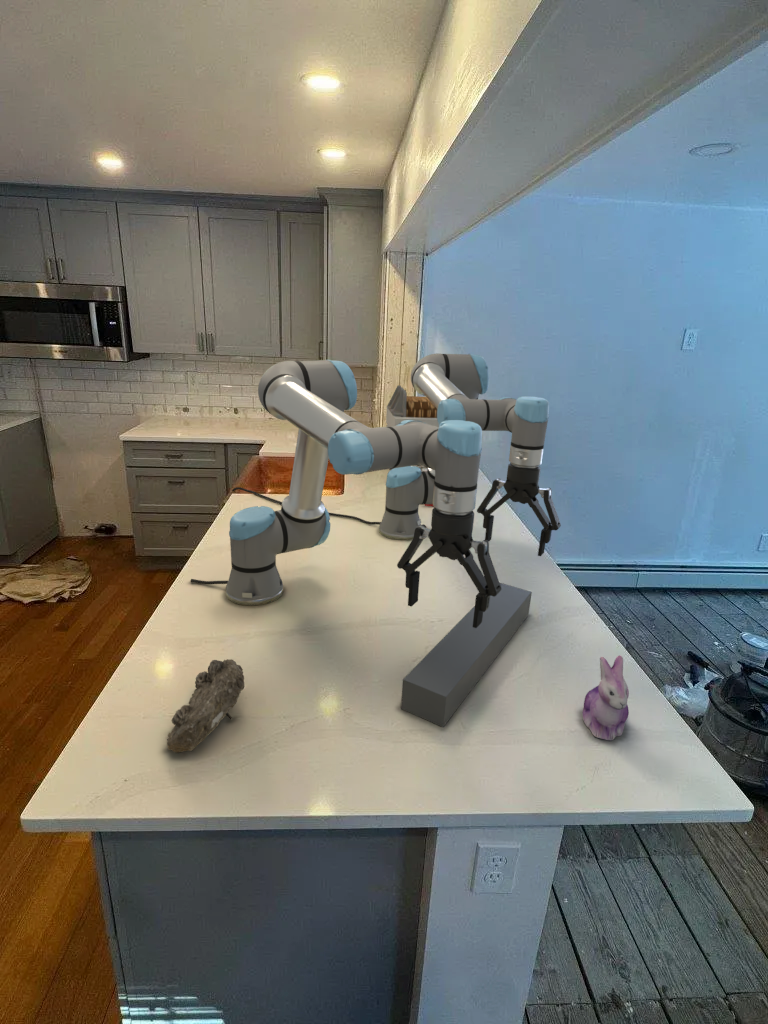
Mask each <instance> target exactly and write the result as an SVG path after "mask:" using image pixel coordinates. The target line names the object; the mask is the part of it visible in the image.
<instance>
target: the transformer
mask: <svg viewBox="0 0 768 1024" xmlns="http://www.w3.org/2000/svg"><path fill="white" fill-rule="evenodd" d="M407 394H408V393H407V390H406V389H404V388H403V387H402V385H399V384H398V385H397V386H396V388H395V390H394V392H393V394H392V395H391V398H390V400H389V402H388V404H387V405H386V413H385V414H386V415H385V423H386V426H385V427H390V426H396V425H398V424H399V423H401V422H402V421H404V420H413V421H417V420H418V421H422V422H425V423H426V424H429V425H432V426H436V427H439V424H438V420H437V410H438V409H437V408H436V407H435V406H434V405H433V404H432V403H431V401H430V400H429V399H428V398H427V397H426V396H415V395H414V396H413V395H412V396H411V395H407ZM414 466H416V467H423V466H422V465H414ZM392 469H394V468H392ZM392 469H389V471H390V470H392Z"/></svg>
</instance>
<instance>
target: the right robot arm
mask: <svg viewBox="0 0 768 1024" xmlns="http://www.w3.org/2000/svg"><path fill="white" fill-rule="evenodd" d="M410 382H411V385H412V388H413V389H414V390H415V392H417V394H419V395H420V396H422V397H427V398H428V399H429V400H430V401H431V403H432V404H433V405H434V406H435V407H436V408H437V409H438V410H437V420H438V424H439V425H440V423H441V422H443V421H447V420H463V421H470V422H474V423H476V424H478V425H479V426H480V427H481V429H482V432H492V431H493V432H509V433H510V434H511V439H510V440H511V441H510V447H509V455H508V456H509V457H508V461H509V463H508V465H507V471H506V480H505V481H504V480H502V479H501V478H500V477H497V478H496V479H494V480H493V481H492V484H491V488H490V490H489V491H488V493H487V494H486V495H485V497H484V499H483V500H482V502H481V503H480V504H479V506H478V507H477V509H476V512H477V514H481V515H482V516H483V518H482V519H483V520H482V528H483V529H485V534H484V540H487V541H488V542H491V540H492V537H493V530H494V529H493V528H494V520H495V515H494V514H493V513H494V512H495V511H496V510H498V509H499V508H501V506H502V505H504V504H505V503H506V502H507V501H509V500H510V501H511V502H513V503H520V504H522V505H525V504H528V506H529V507H530V508H531V510H532V511H533V513H534V515H535V516H536V517H537V519H538V520H539V522H540V524H541V526H542V527H543V528H542V529H541V530H540V537H539V544H538V550H537V556H538V557H542V556H543V555H544V554H545V549H546V544H549V542H550V541H551V539H552V538H551V537H552V532H553V531H558V530H559V529H560V528H561V526H562V525H561V522H560V521H561V520H560V518H559V515H558V512H557V509H556V506H555V504H554V500H553V498H552V494H553V493H552V491H553V489H552V488H551V487H547V488H543V487H542V488H540V486H539V483H540V477H541V469H542V468H541V465H542V464H543V454H544V447H545V441H546V436H547V435H546V434H547V428H548V421H549V417H550V416H549V415H550V414H549V411H550V402H549V401H548V400H547V399H546V398H544V397H539V396H527V395H526V396H519V397H517V399H516V398H513V397H506V396H505V397H500V398H498V399H483V398H482V399H479V396H480V395H485V394H486V393H487V391H488V389H489V386H490V372H489V366H488V363H487V361H486V359H485V358H484V357H483V356H482V355H480V354H471V353H468V354H467V353H466V354H465V353H463V354H462V353H437V352H436V353H430V354H427V355H425V356H423V357H422V358H420V359H419V360H418V361H417V362H415V364H414V365H413V367H412V370H411V371H410ZM427 469H428V470H427V471H422V468H421V467H420V466H407V467H400V468H394V469H392V470H390V469H389V470H388V472H387V475H386V480H385V504H384V505H385V507H384V508H385V509H384V513H383V515H382V519H381V521H368V520H365V519H363V518H361V517H359V516H358V517H357V516H354V515H348V514H340V513H334V512H329V511H328V513H329V516H332V517H339V518H346V519H352V520H356V521H359V522H361V523H363V524H367V525H377V526H378V533H379V534H380V535H381V536H382V537H385V538H387V539H389V540H395V541H410V540H411V541H412V540H413V537H414V532H415V529H416V528H417V527H419V526H421V525H422V520H421V518H420V515H419V507H420V506H422V505H423V506H425V505H427V504H433V495H434V480H435V470H433V469H430V468H427ZM502 488H504V491H505V492H506V494H504V495H503V496H502V497H501V498H500V499H498V500H497V501H496V502H495V503H494V504H492V505H491V506H490V507H489V508H487V507H488V506H489V504H490V503H491V502H492V500H493V498H494V497H495V496H496V494H497V492H498V491H499V490H500V489H502ZM237 490H239V491H244V492H246V493H250V494H254V495H255V496H258V497H260V498H263V499H266V500H268V501H270V502H274V503H276V504H279V505H282V502H283V501H280V500H277V499H274V498H272V497H269V496H266V495H263V494H262V493H259V492H256V491H253V490H251V489H247V488H244V487H242V486H241V487H240V486H237V487H236V486H235V487H234V488H233V489H232V490H231V491H232V492H235V491H237ZM537 495H540V497H541V498H542V499H543V503H544V506H545V510H546V512H545V511H544V509H543V507H542V506H541V504H540V503H539V501H540V500H539V499H538V498H537ZM546 513H547V514H548V515H547V514H546Z"/></svg>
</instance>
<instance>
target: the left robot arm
mask: <svg viewBox="0 0 768 1024" xmlns="http://www.w3.org/2000/svg"><path fill="white" fill-rule="evenodd" d="M357 387H358V385H357V381H356V377H355V374H354V373H353V371H352V369H351V368H350V367H349V365H348V364H347V363H345V362H344V361H341V360H331V359H325V360H284V361H280V362H277V363H275V364H273V365H272V366H270V367H268V368H267V370H265V371H264V372H263V374H262V376H261V377H260V379H259V383H258V387H257V395H258V399H259V402H260V404H261V406H262V408H263V409H264V410H265V411H266V412H268V413H269V414H270V415H271V416H272V417H273V418H276V419H277V420H281V421H288V422H289V423H290V424H292V425H293V426H294V427H296V428H297V429H298V430H297V438H296V444H295V452H294V459H293V465H292V472H291V478H290V485H289V491H288V492H289V493H288V494H289V495H287V496H285V497H284V498H283V499H282V501H281V502H282V504H281V507H280V509H278V510H274V509H273V508H272V507H270V506H265V505H261V506H258V505H256V506H250V507H245V508H242V509H240V510H238V511H237V512H236V513H234V514H233V515H232V516H231V518H230V520H229V531H228V536H229V543H230V545H229V547H230V562H231V568H230V569H231V570H230V573H229V577H228V580H201V579H195V578H191V579H190V583H194V584H200V585H226V586H225V596H226V598H227V599H228V600H229V601H230V602H232V603H234V604H237V605H241V606H248V607H249V606H251V607H253V606H262V605H267V604H271V603H272V602H275V601H276V600H278V599H280V597H282V595H283V593H284V583H283V579H282V577H281V575H280V573H279V570H278V567H277V555H281V554H285V553H291V552H295V551H301V550H305V549H312V548H314V547H317V546H320V545H322V544H324V543H325V542H326V540H327V539H328V538H329V535H330V532H331V522H330V520H331V517H330V516H331V515H329V513H330V512H329V511H328V509H327V508H326V505H325V504H324V502H323V501H322V497H323V491H324V486H325V482H326V481H325V480H326V476H327V469H328V464H329V463H330V464H331V465H332V468H333V470H334V471H335V472H336V473H338V474H340V475H362V474H365V473H372V472H378V471H384V470H390V469H392V468H400V467H407V466H414V465H422V466H421V467H424V468H427V469H428V468H430V469H433V470H435V480H434V495H433V506H432V507H433V508H432V509H431V521H430V526H431V528H427V525H425V524H424V523H423V524H421V526H419V527H417V528H416V529H415V532H414V537H413V539H411V541H410V543H409V544H408V546H407V547H406V549H405V551H404V552H403V554H402V556H401V558H400V559H399V560H398V562H397V564H396V566H397V569H400V570H403V571H404V572H405V583H404V585H405V588H406V589H408V596H407V597H408V599H407V606H408V607H413V606H414V605H415V604H416V603H418V601H419V591H420V589H419V588H420V577H421V576H420V575H421V571H420V570H417V569H418V568H419V567H420V566H422V564H424V563H425V562H426V561H427V560H429V559H430V558H431V557H432V556H433V555H435V554H437V555H439V557H442V558H448V559H449V560H452V561H456V560H457V561H458V563H459V565H460V566H462V567H463V568H464V571H465V572H466V573H467V575H468V577H469V578H470V580H471V582H472V583H473V585H474V587H475V588H476V590H477V591H478V593H477V594H476V595H475V602H474V606H475V609H474V618H473V627H474V628H477V627H478V626H479V625H480V624H481V623H482V617H483V612H485V611H486V610H487V609H488V607H489V600H490V596H493V597H495V596H496V595H497V594H498V593H499V592H500V591H501V585H500V583H501V582H500V580H499V578H498V574H497V572H496V568H495V566H494V563H493V560H492V557H491V555H490V554H491V553H490V543H489V542H490V541H489V542H488V541H487V540H485V539H484V540H482V541H480V540H474V537H473V530H474V521H475V512H474V510H475V509H476V502H477V493H478V480H479V479H478V478H479V471H480V462H481V455H482V451H483V447H482V445H483V431H482V429H481V427H480V426H479V425H478V424H476V423H474V422H470V421H463V420H447V421H443V422H441V423H440V425H439V427H436V426H432V425H429V424H426V423H425V422H422V421H418V420H417V421H413V420H404V421H402V422H401V423H399V424H398V425H396V426H390V427H386V426H380V427H369V426H367V425H366V424H364V423H362V422H360V421H358V420H357V419H356V418H354V417H352V416H351V415H349V414H347V413H345V411H349V410H352V409H353V408H354V407H355V406H356V403H357V400H358V388H357ZM328 512H329V513H328ZM426 538H428V539H429V541H430V543H431V544H432V545H431V546H430V547H429V548H428V549H427V550H425V551H424V552H423V553H422V554H421V555H420V556H419V557H418V558H417V559H416V560H414V561H413V562H412V563H411V560H412V558H413V557H414V555H415V554H416V552H417V551H418V549H419V547H420V546H421V544H422V543H423V541H424V540H425V539H426ZM471 549H473V550H474V553H475V554H476V555H477V560H478V563H479V565H480V567H479V565H478V564H477V562H476V561H475V559H474V555H473V553H472V551H471ZM499 582H500V583H499Z"/></svg>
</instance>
